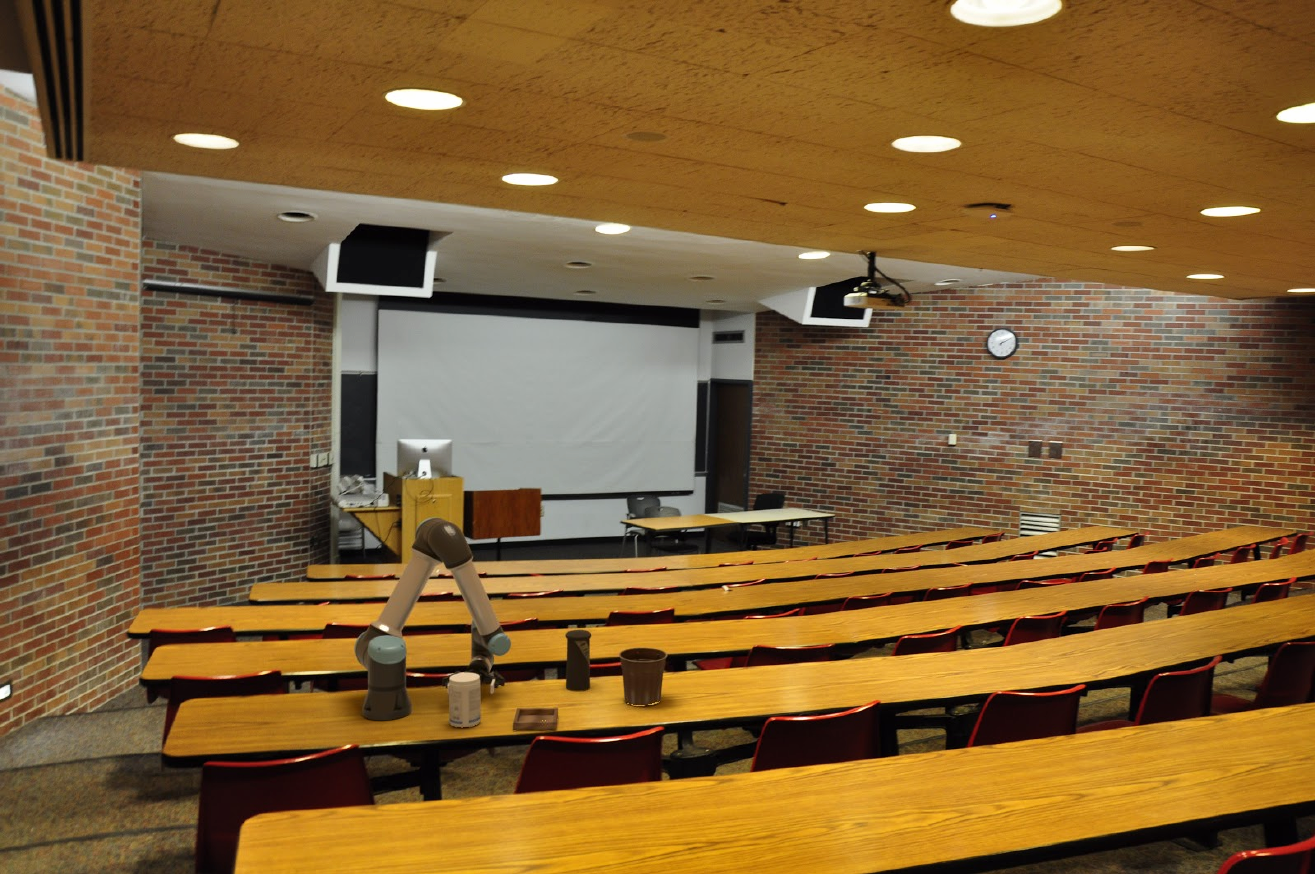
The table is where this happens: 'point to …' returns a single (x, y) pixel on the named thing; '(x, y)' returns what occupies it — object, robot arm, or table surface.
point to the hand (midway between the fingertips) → (470, 689)
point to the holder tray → (535, 719)
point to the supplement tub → (464, 700)
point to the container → (578, 660)
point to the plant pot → (642, 674)
